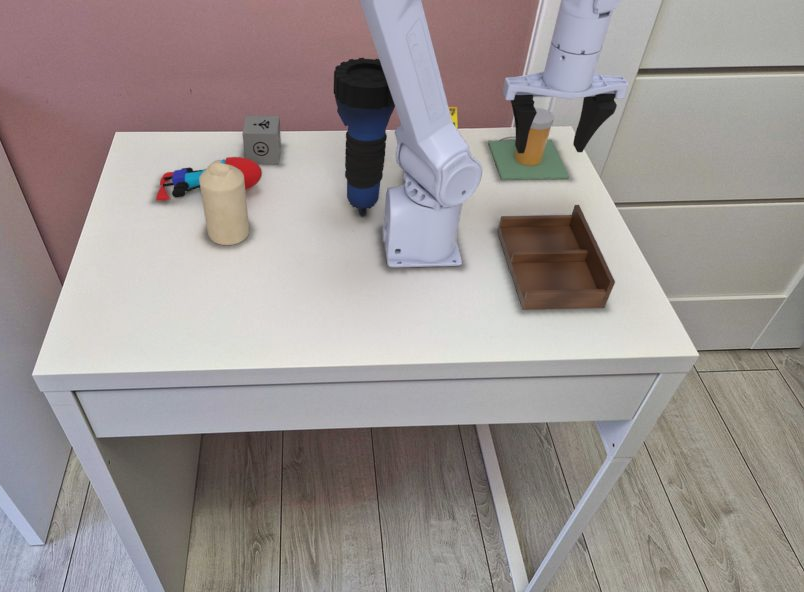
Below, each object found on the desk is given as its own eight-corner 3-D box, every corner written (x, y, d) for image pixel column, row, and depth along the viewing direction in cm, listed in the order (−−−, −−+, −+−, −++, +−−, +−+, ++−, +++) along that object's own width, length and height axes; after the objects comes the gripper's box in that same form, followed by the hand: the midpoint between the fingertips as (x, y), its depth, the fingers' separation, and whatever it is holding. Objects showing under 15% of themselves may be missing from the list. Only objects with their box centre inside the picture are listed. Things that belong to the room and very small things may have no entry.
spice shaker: (522, 168, 103) (533, 125, 97) (507, 153, 105) (517, 110, 100) (548, 163, 104) (560, 120, 99) (532, 147, 106) (543, 105, 101)
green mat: (501, 179, 101) (501, 177, 101) (488, 143, 108) (488, 140, 108) (568, 178, 102) (569, 176, 101) (551, 142, 108) (551, 139, 108)
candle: (256, 225, 93) (250, 160, 86) (239, 249, 90) (231, 184, 83) (219, 216, 95) (209, 151, 87) (200, 240, 91) (189, 175, 84)
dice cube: (278, 164, 103) (277, 133, 100) (245, 163, 103) (242, 133, 100) (281, 146, 107) (279, 116, 103) (248, 145, 107) (245, 115, 103)
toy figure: (159, 213, 97) (263, 200, 95) (147, 182, 94) (254, 167, 92) (169, 186, 103) (268, 172, 101) (158, 156, 100) (260, 141, 98)
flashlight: (369, 188, 99) (377, 50, 85) (401, 218, 95) (415, 77, 80) (321, 205, 97) (321, 65, 82) (352, 236, 92) (357, 94, 77)
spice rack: (522, 309, 83) (530, 284, 80) (497, 231, 93) (503, 205, 90) (604, 307, 83) (615, 281, 80) (570, 230, 94) (579, 204, 90)
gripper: (627, 28, 83) (594, 131, 93) (506, 29, 82) (487, 133, 92) (647, 55, 78) (611, 160, 88) (520, 56, 77) (498, 162, 87)
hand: (548, 148), depth 90 cm, fingers open, 7 cm apart
